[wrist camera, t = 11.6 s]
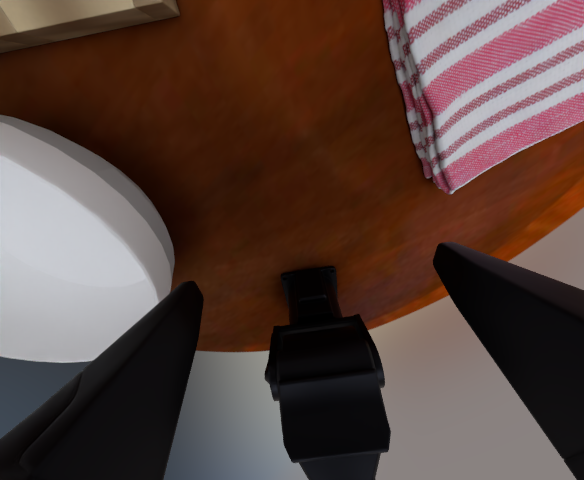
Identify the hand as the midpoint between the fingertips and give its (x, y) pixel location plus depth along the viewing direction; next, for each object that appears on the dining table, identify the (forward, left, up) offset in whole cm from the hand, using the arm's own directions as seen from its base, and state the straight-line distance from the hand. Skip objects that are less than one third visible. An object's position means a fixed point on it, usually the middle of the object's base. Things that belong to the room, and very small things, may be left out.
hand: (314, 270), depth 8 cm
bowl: (-1, +19, -13) cm, 23 cm away
